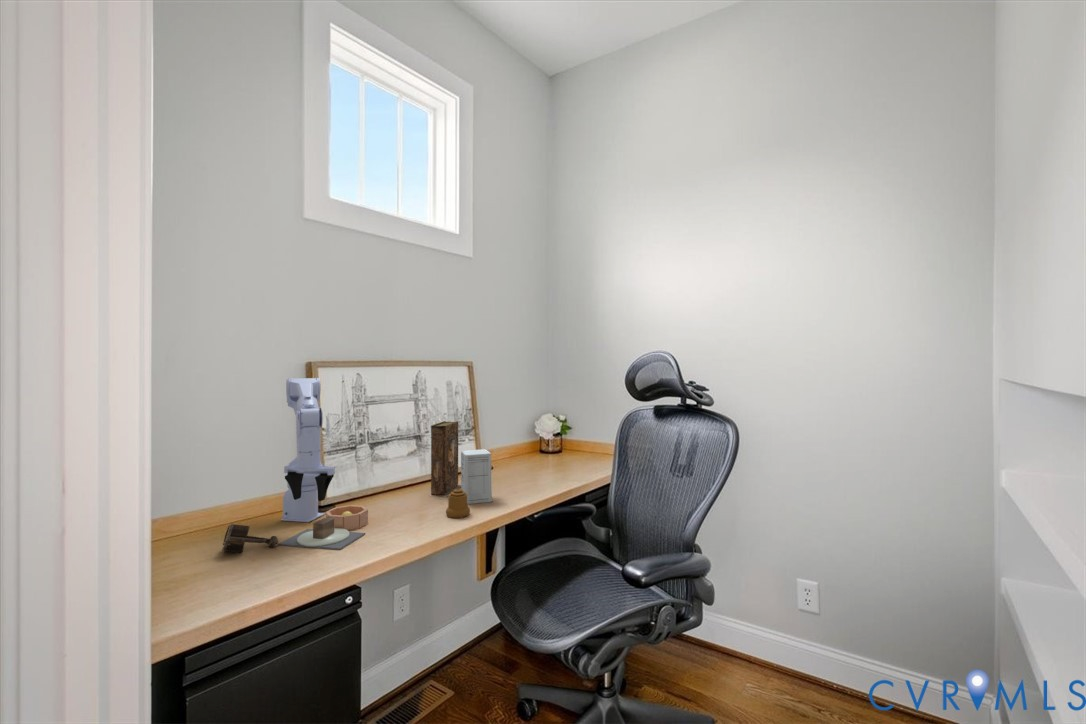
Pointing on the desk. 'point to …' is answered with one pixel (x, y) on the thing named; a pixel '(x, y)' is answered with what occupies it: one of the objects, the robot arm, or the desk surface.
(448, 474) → the book
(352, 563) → the desk surface
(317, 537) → the lid
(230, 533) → the dark brown handled piece
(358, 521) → the bowl
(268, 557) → the desk surface
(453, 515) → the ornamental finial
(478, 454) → the grey cabinet
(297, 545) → the mat
